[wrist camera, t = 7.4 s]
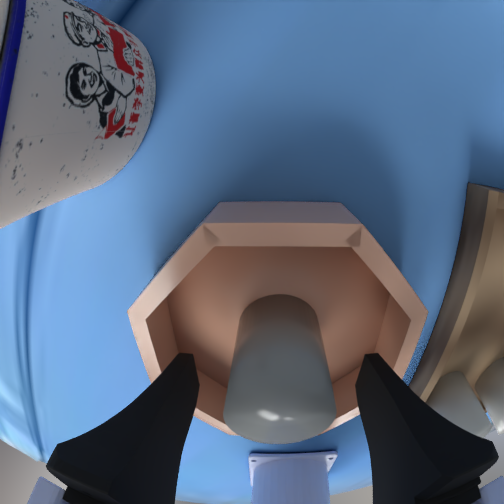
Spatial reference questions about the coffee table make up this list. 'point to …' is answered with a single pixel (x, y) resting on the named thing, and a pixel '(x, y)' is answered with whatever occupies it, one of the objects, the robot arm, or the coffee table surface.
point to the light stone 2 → (493, 393)
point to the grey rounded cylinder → (279, 374)
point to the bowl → (277, 282)
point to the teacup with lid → (66, 102)
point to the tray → (470, 298)
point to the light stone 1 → (459, 404)
